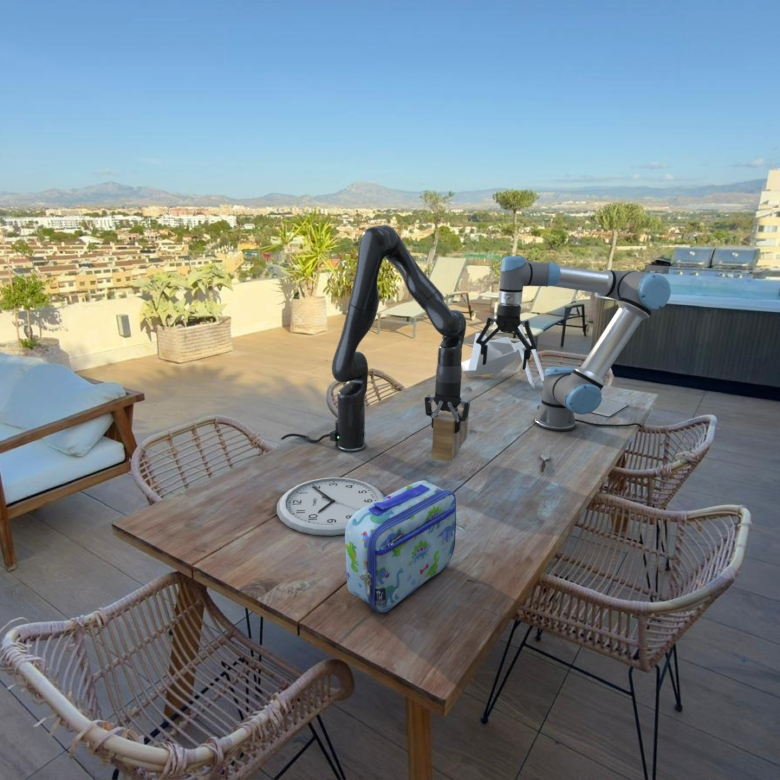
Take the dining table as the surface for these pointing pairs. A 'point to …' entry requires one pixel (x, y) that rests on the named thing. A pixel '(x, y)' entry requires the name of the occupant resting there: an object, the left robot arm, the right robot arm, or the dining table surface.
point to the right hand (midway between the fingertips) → (504, 366)
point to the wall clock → (325, 504)
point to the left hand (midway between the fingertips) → (445, 430)
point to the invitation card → (609, 407)
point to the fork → (544, 459)
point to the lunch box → (399, 543)
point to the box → (448, 435)
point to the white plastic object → (499, 357)
